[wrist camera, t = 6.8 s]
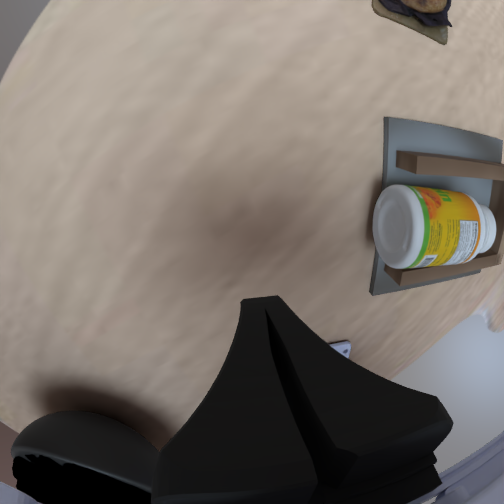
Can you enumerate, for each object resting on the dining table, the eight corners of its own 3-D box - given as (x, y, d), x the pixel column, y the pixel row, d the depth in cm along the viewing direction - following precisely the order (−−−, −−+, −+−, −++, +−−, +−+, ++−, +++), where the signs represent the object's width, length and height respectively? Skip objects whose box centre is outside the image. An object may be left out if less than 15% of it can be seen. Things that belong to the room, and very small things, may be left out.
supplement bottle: (374, 178, 18) (463, 188, 20) (366, 251, 20) (453, 248, 22) (422, 192, 13) (508, 204, 15) (405, 283, 15) (493, 272, 16)
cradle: (476, 270, 24) (494, 284, 21) (369, 291, 23) (386, 313, 20) (498, 139, 18) (521, 145, 15) (384, 116, 17) (409, 118, 14)
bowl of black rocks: (10, 360, 22) (-45, 490, 6) (171, 383, 25) (166, 574, 8) (69, 446, 31) (52, 542, 14) (191, 462, 33) (196, 573, 16)
